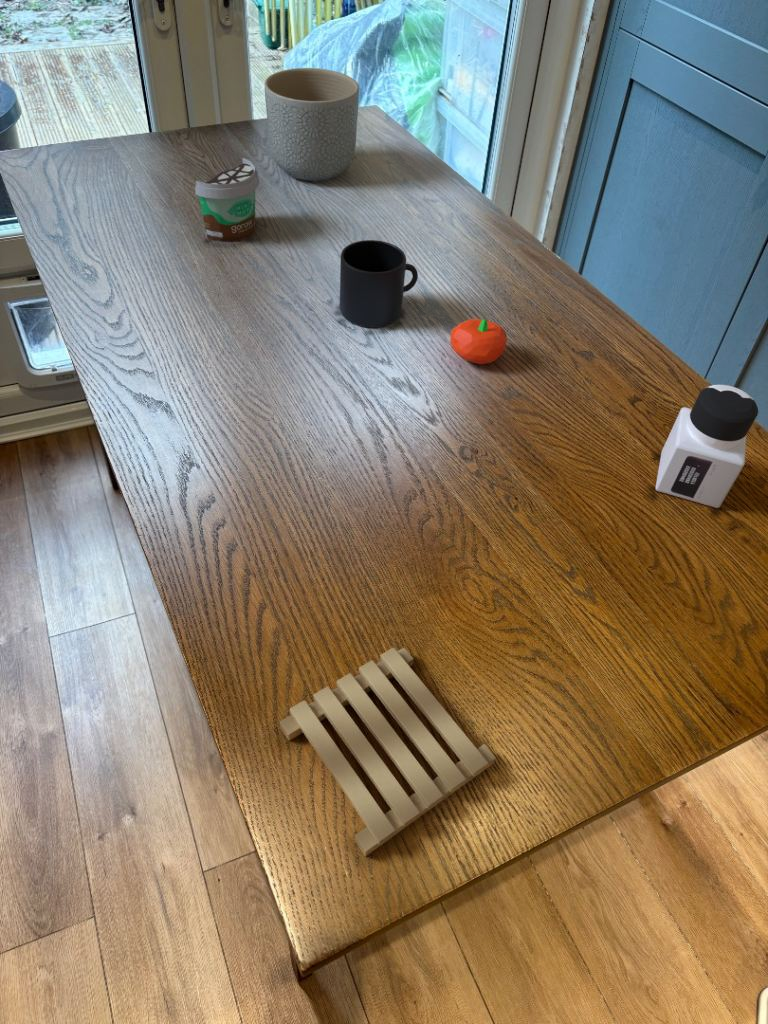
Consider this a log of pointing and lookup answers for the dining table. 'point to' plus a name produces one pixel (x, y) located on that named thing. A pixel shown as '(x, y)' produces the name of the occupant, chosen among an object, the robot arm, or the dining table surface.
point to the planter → (312, 121)
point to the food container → (229, 203)
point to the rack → (387, 745)
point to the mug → (373, 282)
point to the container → (707, 446)
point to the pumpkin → (478, 340)
